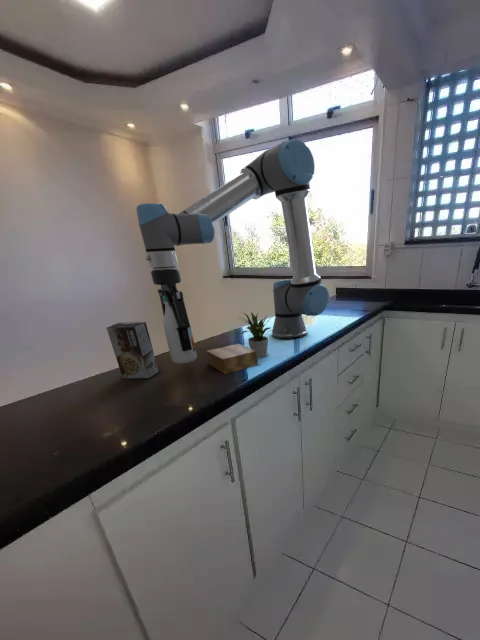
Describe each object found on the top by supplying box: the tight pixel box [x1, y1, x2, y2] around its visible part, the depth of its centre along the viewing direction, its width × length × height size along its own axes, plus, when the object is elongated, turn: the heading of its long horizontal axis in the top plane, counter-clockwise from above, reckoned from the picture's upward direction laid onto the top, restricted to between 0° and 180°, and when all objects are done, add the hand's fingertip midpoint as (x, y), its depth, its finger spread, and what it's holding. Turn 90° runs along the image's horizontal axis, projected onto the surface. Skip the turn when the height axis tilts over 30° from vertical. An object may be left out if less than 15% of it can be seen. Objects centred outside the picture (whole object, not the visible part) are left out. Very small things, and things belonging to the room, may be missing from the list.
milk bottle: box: [162, 296, 198, 364], centre depth 95 cm, size 8×8×20 cm
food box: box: [105, 321, 159, 379], centre depth 95 cm, size 9×6×16 cm
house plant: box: [237, 310, 275, 359], centre depth 109 cm, size 14×14×16 cm
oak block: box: [206, 343, 259, 375], centre depth 103 cm, size 12×12×5 cm
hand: (182, 347), depth 97 cm, fingers closed on milk bottle, 8 cm apart
